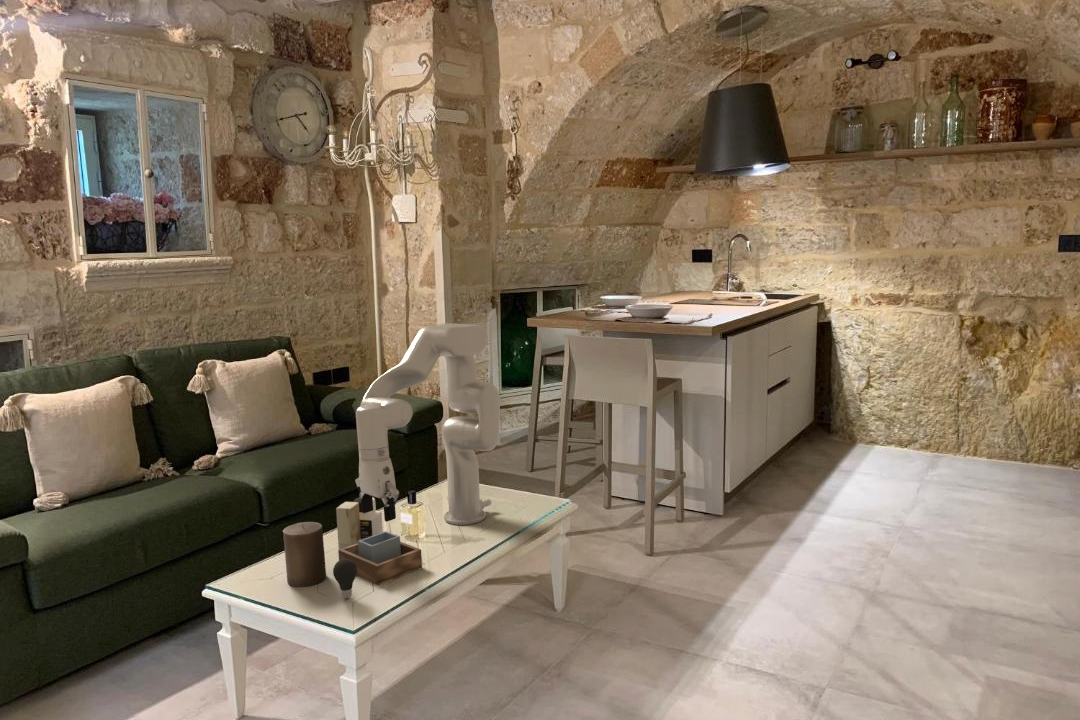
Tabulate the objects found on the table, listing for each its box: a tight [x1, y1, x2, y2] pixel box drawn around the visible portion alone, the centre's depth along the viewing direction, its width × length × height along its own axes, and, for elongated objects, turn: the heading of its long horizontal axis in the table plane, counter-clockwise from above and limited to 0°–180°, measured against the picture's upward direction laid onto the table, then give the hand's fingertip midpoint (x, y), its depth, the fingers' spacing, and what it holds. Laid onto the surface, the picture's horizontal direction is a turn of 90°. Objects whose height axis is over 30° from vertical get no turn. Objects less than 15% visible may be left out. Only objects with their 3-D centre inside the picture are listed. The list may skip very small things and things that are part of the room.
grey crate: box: [358, 530, 401, 564], centre depth 217 cm, size 9×6×7 cm, turn 137°
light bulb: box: [332, 559, 357, 601], centre depth 199 cm, size 6×6×10 cm
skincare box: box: [335, 501, 361, 550], centre depth 233 cm, size 6×4×12 cm
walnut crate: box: [337, 541, 423, 586], centre depth 218 cm, size 14×17×5 cm
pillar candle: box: [282, 521, 327, 587], centre depth 211 cm, size 10×10×15 cm
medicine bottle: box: [353, 496, 384, 540], centre depth 239 cm, size 7×7×12 cm
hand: (378, 515), depth 216 cm, fingers open, 9 cm apart
